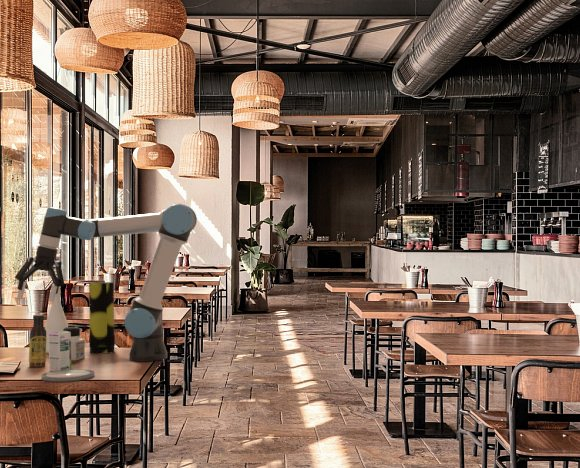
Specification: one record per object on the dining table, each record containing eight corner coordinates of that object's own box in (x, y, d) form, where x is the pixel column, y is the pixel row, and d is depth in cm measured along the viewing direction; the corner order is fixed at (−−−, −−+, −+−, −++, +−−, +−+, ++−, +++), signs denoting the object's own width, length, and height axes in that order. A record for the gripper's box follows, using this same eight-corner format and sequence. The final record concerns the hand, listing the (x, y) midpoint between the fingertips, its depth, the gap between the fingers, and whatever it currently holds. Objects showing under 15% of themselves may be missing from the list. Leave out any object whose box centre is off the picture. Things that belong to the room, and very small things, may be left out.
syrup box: (59, 372, 280) (59, 333, 280) (48, 371, 283) (48, 332, 283) (71, 370, 285) (71, 331, 285) (60, 369, 288) (60, 330, 288)
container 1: (76, 360, 309) (75, 328, 309) (58, 360, 310) (58, 328, 310) (85, 357, 316) (84, 326, 316) (67, 357, 318) (67, 326, 318)
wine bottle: (71, 352, 331) (70, 283, 331) (49, 354, 326) (48, 284, 326) (64, 350, 339) (63, 282, 339) (42, 352, 333) (41, 283, 334)
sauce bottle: (30, 368, 291) (29, 316, 291) (27, 365, 296) (27, 314, 297) (48, 366, 294) (47, 315, 294) (45, 364, 299) (44, 313, 300)
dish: (99, 372, 279) (99, 368, 279) (86, 381, 261) (86, 377, 261) (50, 373, 279) (50, 369, 279) (34, 382, 261) (34, 378, 261)
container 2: (117, 350, 337) (116, 282, 337) (112, 353, 326) (111, 283, 326) (92, 350, 336) (91, 282, 337) (86, 354, 326) (86, 283, 326)
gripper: (70, 249, 308) (58, 300, 308) (14, 240, 290) (1, 294, 290) (80, 253, 304) (68, 305, 303) (23, 243, 285) (10, 299, 285)
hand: (35, 300), depth 296 cm, fingers open, 13 cm apart
